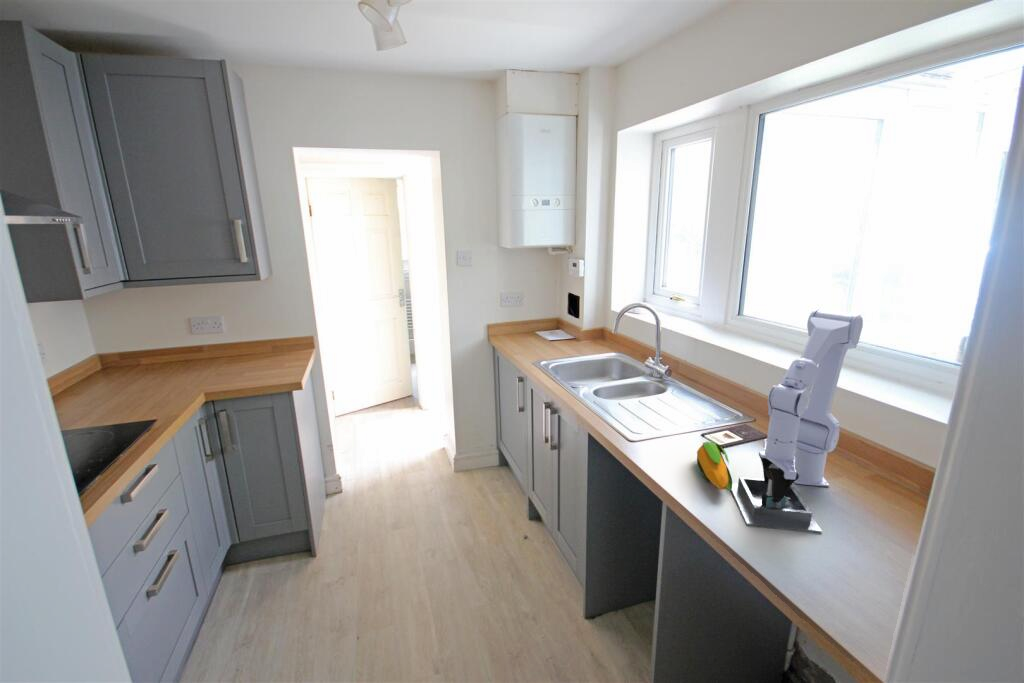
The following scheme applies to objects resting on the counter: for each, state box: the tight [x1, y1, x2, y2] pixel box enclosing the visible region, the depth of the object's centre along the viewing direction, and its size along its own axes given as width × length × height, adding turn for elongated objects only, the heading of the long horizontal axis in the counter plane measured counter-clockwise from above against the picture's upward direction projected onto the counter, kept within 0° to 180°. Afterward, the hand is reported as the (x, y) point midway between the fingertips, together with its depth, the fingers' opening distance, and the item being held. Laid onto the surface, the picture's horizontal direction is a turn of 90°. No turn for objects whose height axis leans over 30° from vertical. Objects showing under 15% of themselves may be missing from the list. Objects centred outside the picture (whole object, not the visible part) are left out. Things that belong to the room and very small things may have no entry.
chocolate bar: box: [700, 423, 768, 449], centre depth 141 cm, size 9×1×18 cm
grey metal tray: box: [730, 476, 823, 534], centre depth 107 cm, size 16×15×4 cm
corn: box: [696, 441, 733, 491], centre depth 119 cm, size 7×8×20 cm
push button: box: [761, 464, 790, 508], centre depth 106 cm, size 7×5×10 cm
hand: (773, 489), depth 106 cm, fingers closed on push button, 5 cm apart
